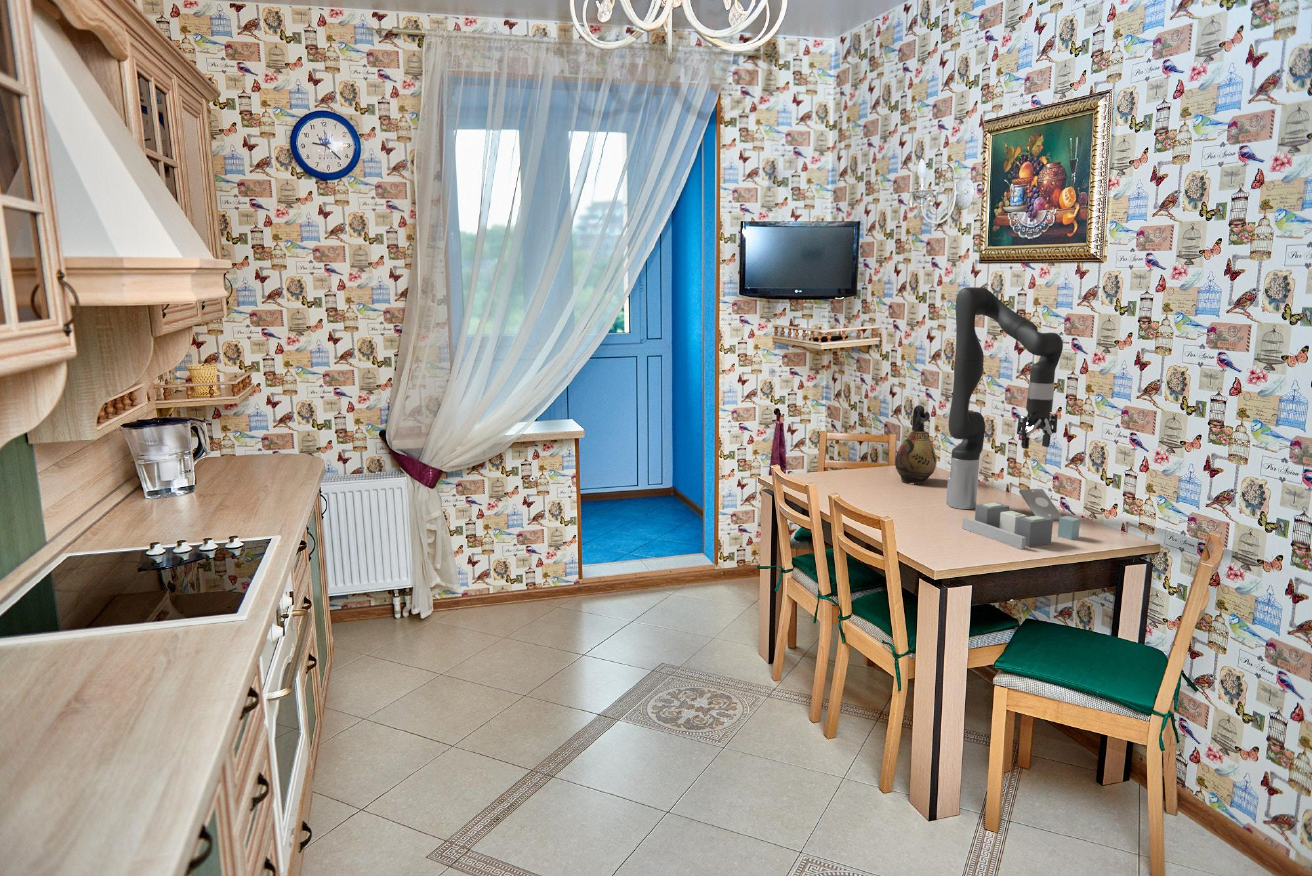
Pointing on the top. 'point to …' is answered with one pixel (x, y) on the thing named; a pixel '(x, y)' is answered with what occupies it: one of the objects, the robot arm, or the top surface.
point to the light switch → (1040, 503)
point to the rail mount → (1027, 534)
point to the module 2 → (1068, 527)
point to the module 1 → (1010, 520)
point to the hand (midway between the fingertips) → (1035, 447)
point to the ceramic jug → (916, 452)
